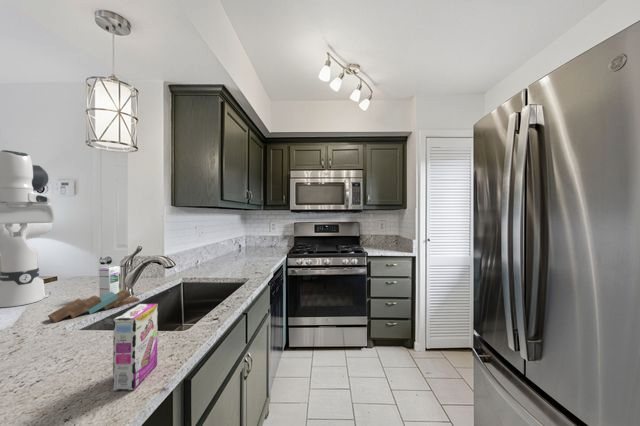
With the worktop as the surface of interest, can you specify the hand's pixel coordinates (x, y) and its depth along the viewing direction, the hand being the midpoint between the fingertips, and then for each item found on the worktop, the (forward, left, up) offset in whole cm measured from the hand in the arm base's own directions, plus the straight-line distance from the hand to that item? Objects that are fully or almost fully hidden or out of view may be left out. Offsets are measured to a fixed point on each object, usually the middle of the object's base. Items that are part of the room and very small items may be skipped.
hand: (16, 236), depth 101 cm
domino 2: (+7, +12, -30) cm, 33 cm away
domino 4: (+8, +23, -30) cm, 39 cm away
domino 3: (+7, +18, -30) cm, 36 cm away
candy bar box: (+69, +3, -31) cm, 76 cm away
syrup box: (-6, +32, -31) cm, 45 cm away
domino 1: (+6, +7, -30) cm, 32 cm away
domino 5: (+7, +26, -31) cm, 41 cm away
